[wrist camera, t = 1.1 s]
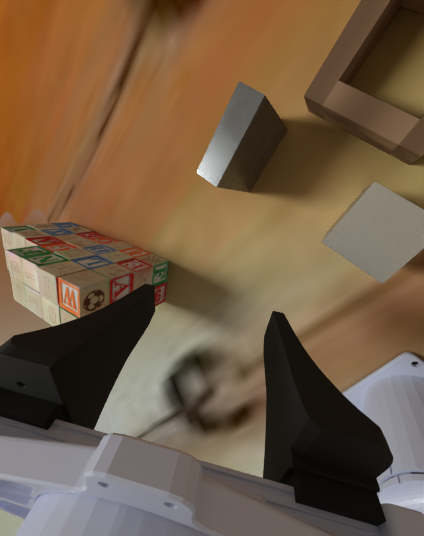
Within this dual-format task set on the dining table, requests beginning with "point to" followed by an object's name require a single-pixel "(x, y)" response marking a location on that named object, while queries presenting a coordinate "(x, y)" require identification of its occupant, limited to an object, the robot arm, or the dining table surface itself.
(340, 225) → the block
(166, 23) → the dining table surface
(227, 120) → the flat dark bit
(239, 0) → the dining table surface
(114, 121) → the dining table surface
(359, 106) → the walnut bore block
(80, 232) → the stack of blocks
